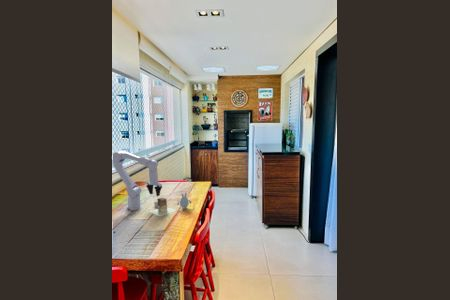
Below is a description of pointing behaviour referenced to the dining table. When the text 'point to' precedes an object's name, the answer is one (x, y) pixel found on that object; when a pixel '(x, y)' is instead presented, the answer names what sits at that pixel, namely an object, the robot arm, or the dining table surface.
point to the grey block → (156, 204)
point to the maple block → (162, 208)
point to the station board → (169, 210)
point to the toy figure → (184, 202)
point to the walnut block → (162, 201)
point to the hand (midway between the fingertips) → (154, 194)
